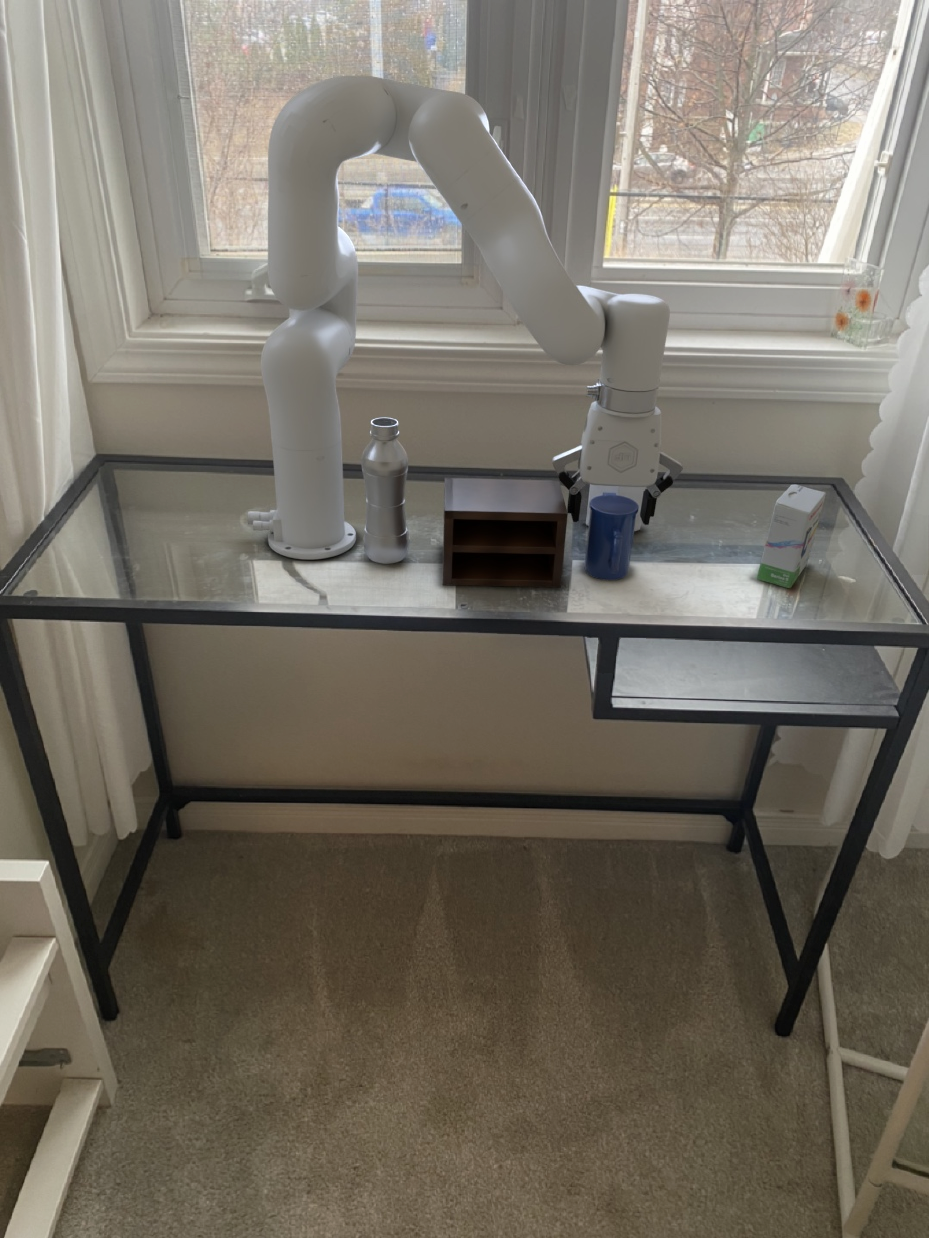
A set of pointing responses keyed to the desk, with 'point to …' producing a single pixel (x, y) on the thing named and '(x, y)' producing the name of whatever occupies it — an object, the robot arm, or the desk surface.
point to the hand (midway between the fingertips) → (609, 519)
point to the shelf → (503, 532)
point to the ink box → (791, 535)
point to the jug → (610, 536)
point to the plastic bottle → (385, 493)
